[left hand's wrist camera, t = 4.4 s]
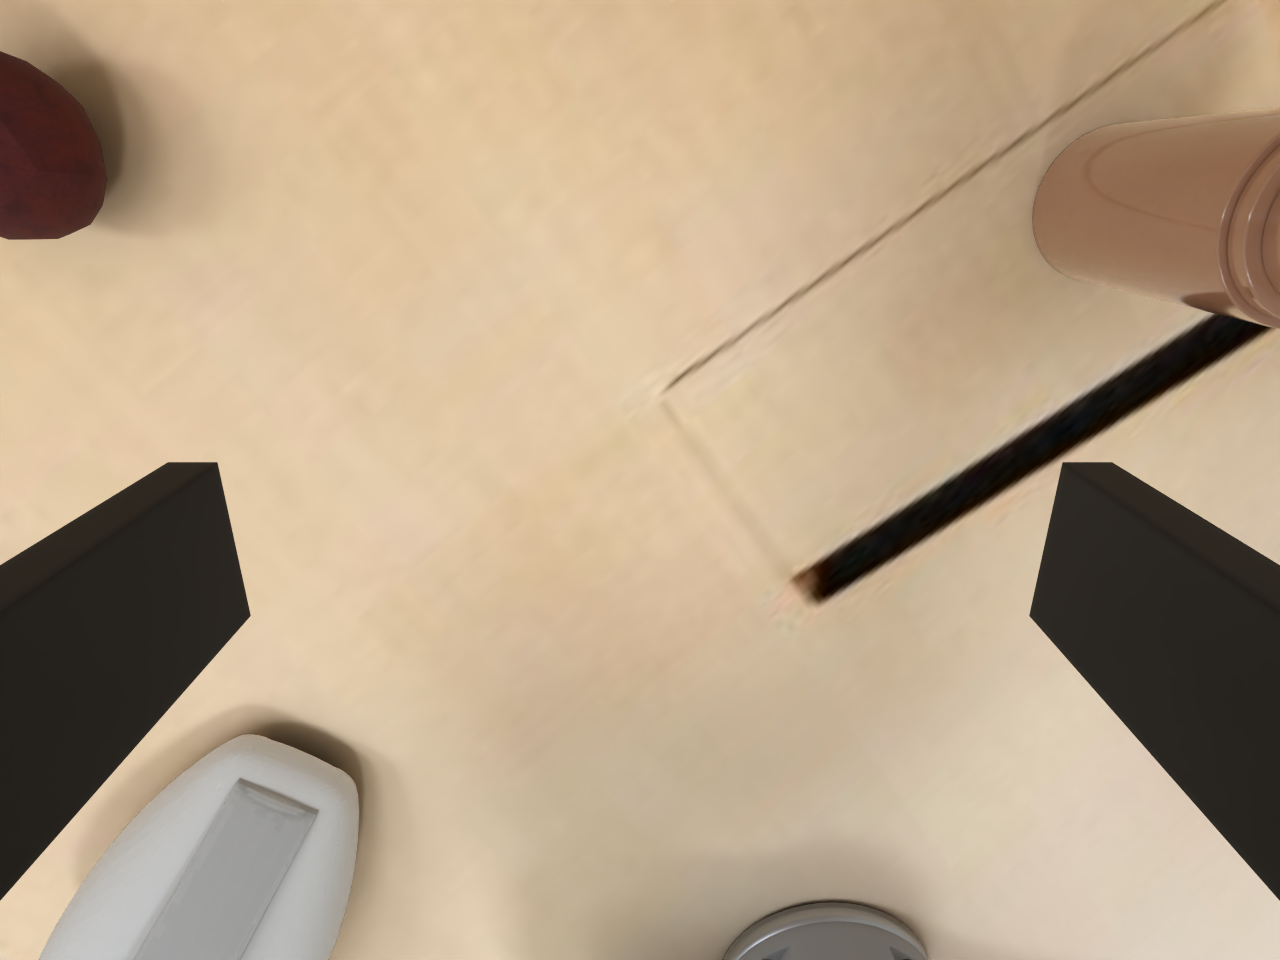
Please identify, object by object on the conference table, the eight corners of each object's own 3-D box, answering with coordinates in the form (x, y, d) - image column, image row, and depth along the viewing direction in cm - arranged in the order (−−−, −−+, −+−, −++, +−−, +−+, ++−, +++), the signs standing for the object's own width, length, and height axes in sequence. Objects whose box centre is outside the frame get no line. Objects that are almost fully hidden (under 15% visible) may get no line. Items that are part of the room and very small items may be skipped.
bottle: (1004, 250, 38) (1312, 316, 20) (1084, 98, 35) (1511, 27, 18) (1128, 302, 38) (1524, 406, 21) (1215, 157, 36) (1742, 143, 19)
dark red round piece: (46, 21, 34) (-96, -15, 27) (177, 179, 36) (75, 181, 30) (-62, 124, 35) (-221, 112, 29) (71, 269, 38) (-49, 289, 31)
